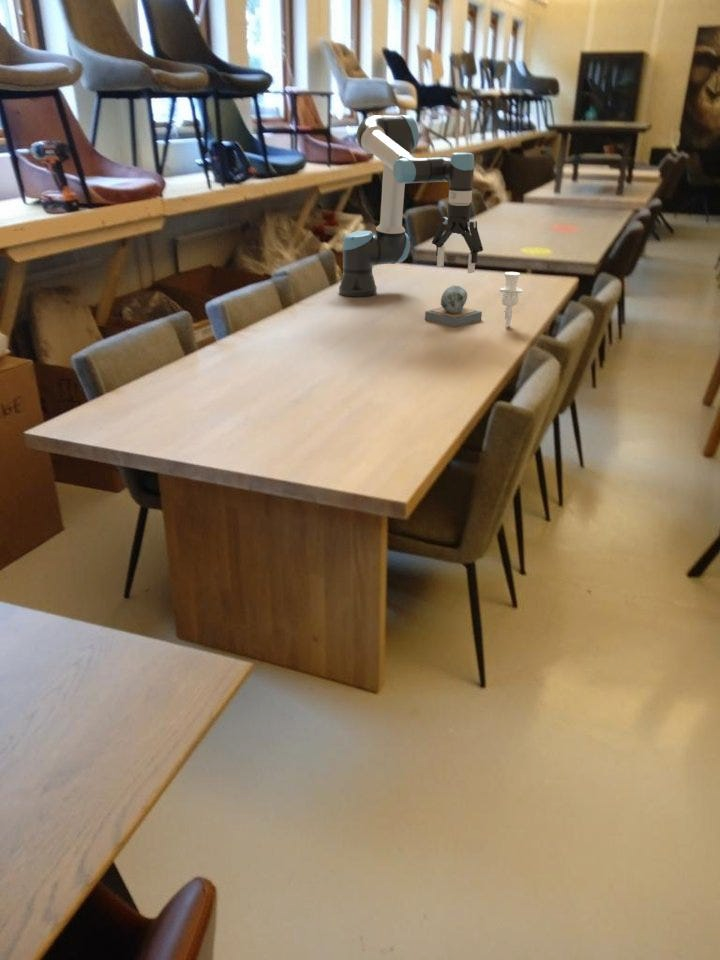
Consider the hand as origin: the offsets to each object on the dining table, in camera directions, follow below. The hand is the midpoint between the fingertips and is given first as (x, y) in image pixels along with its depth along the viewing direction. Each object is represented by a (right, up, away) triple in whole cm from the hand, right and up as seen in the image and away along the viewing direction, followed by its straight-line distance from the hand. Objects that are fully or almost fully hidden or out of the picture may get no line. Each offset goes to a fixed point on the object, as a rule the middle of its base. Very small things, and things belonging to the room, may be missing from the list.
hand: (455, 269), depth 255 cm
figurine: (+18, -20, -1) cm, 27 cm away
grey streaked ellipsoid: (0, -13, +6) cm, 14 cm away
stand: (0, -16, +7) cm, 17 cm away
